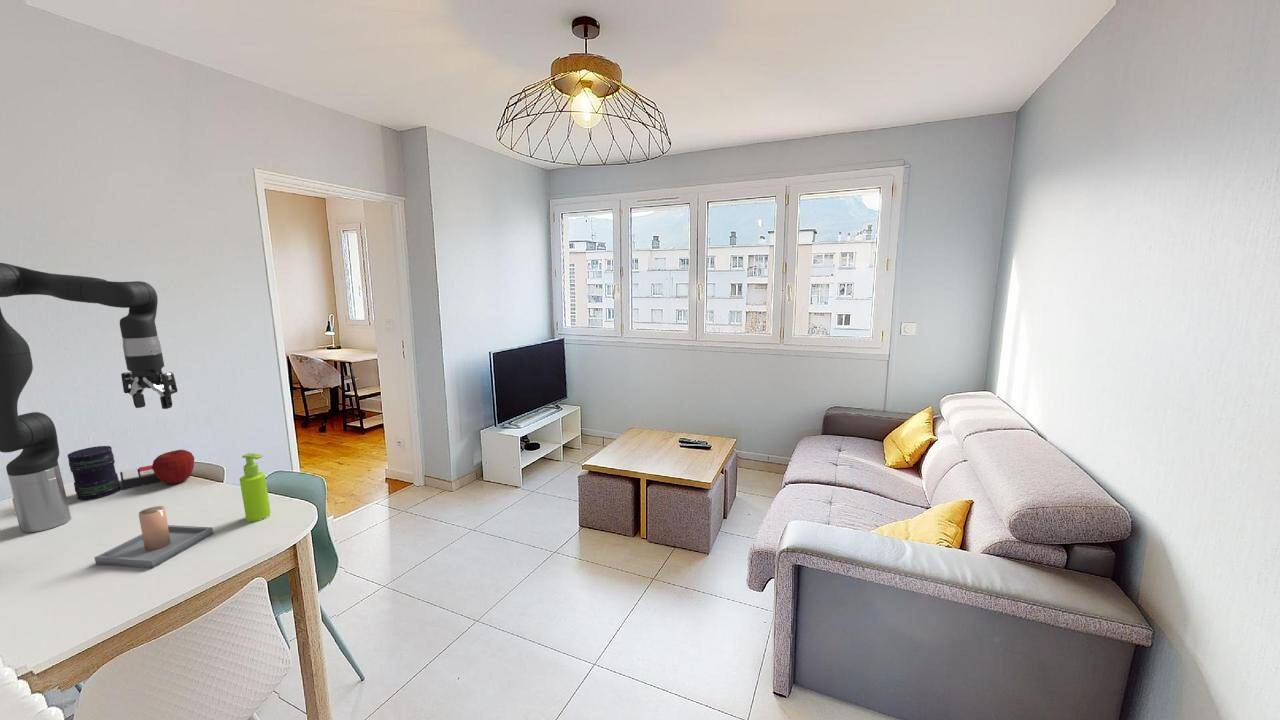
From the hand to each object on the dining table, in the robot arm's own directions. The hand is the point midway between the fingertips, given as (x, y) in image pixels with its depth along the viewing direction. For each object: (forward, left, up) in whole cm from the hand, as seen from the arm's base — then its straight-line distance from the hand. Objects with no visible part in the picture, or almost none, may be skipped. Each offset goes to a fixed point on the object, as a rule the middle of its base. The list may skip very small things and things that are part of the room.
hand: (154, 407), depth 141 cm
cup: (+13, -16, -33) cm, 39 cm away
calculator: (-35, +23, -35) cm, 55 cm away
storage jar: (-40, +11, -34) cm, 54 cm away
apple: (-24, +22, -34) cm, 47 cm away
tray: (+13, -16, -34) cm, 40 cm away
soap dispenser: (+26, +2, -34) cm, 43 cm away
